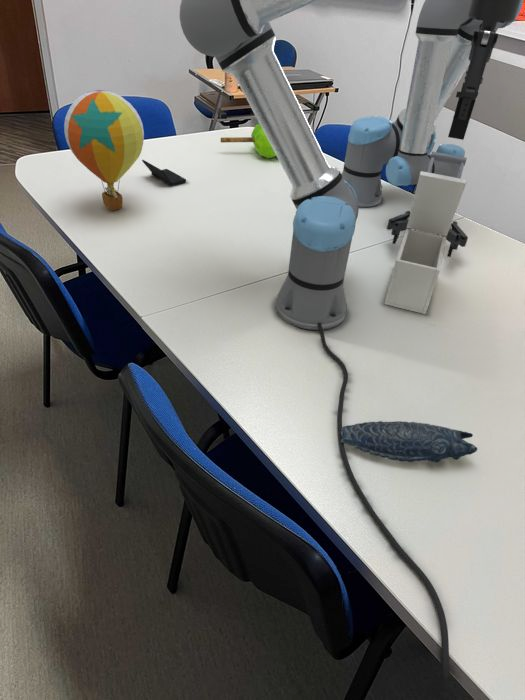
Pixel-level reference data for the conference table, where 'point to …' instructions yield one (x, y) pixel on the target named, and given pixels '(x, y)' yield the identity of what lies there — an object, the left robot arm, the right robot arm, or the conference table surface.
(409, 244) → the chest
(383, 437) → the fish model
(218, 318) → the conference table surface
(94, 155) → the toy
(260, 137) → the decorative tree
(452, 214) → the lid
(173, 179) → the black angular block
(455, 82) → the right robot arm
